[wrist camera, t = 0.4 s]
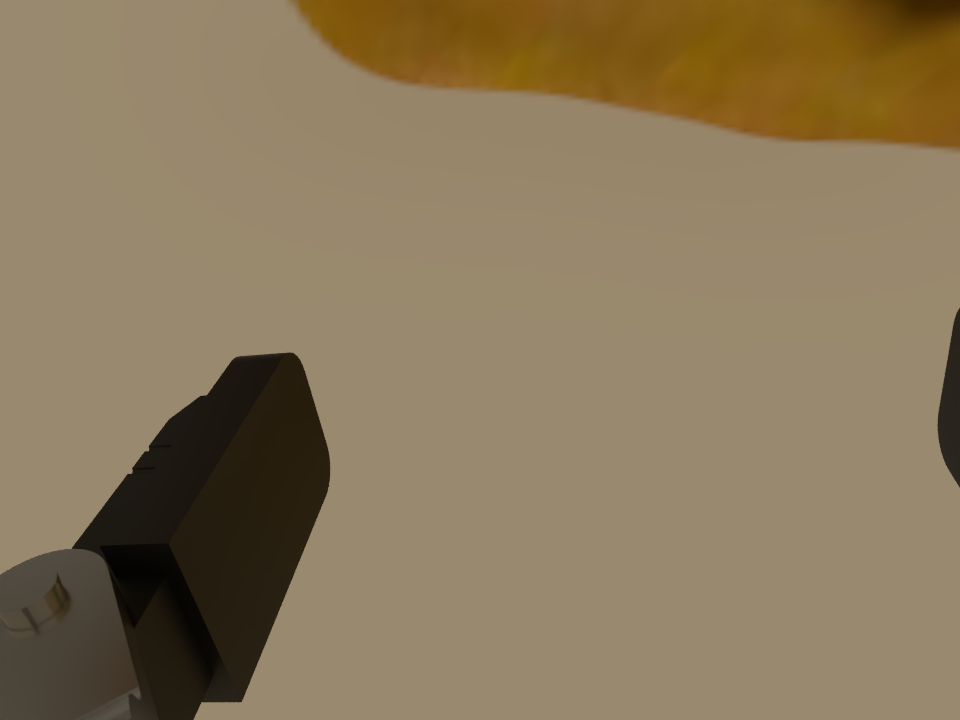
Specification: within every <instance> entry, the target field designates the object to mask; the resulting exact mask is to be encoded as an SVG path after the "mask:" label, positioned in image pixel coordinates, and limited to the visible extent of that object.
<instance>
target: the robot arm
mask: <svg viewBox="0 0 960 720" xmlns="http://www.w3.org/2000/svg"><path fill="white" fill-rule="evenodd" d="M938 437H939V443H940V448H941V452H942V455H943V458H944V461H945V463H946V465H947V467H948V469H949V471H950V472H951V474H952V476H953V477H954V479H955V481H956V482H957V484H958V485H959V487H960V308H959V310H958V312H957V314H956V317H955V321H954V325H953V331H952V336H951V342H950V349H949V355H948V360H947V366H946V372H945V378H944V384H943V389H942V395H941V401H940V407H939V413H938ZM132 469H133V473H132V474H127V476H126V477H125V479H124V480H123V481H122V482H121V484H120V485H119V486H118V488H117V489H116V490H115V492H114V493H113V494H112V496H111V497H110V498H109V500H108V501H107V502H106V504H105V505H104V506H103V508H102V509H101V510H100V512H99V513H98V514H97V516H96V517H95V518H94V519H93V521H92V522H91V523H90V525H89V526H88V527H87V529H86V530H85V531H84V533H83V534H82V536H81V537H80V538H79V539H78V541H77V542H76V543H75V545H74V546H73V547H72V549H65V550H58V551H53V552H50V553H46V554H42V555H39V556H37V557H34V558H31V559H29V560H27V561H24V562H22V563H20V564H18V565H16V566H14V567H12V568H11V569H9V570H7V571H6V572H4V573H2V574H1V575H0V720H193V719H194V717H195V715H196V713H197V711H198V709H199V706H200V704H201V702H242V700H243V698H244V695H245V693H246V690H247V688H248V685H249V683H250V680H251V678H252V675H253V673H254V670H255V668H256V666H257V663H258V661H259V658H260V656H261V653H262V651H263V649H264V646H265V644H266V641H267V639H268V636H269V634H270V631H271V629H272V626H273V624H274V622H275V619H276V617H277V614H278V612H279V610H280V607H281V605H282V602H283V599H284V597H285V594H286V592H287V590H288V588H289V585H290V583H291V580H292V578H293V575H294V573H295V570H296V568H297V565H298V563H299V561H300V558H301V556H302V553H303V551H304V548H305V546H306V543H307V541H308V539H309V536H310V534H311V531H312V528H313V526H314V524H315V521H316V519H317V517H318V514H319V512H320V509H321V507H322V504H323V502H324V499H325V497H326V494H327V491H328V487H329V481H330V458H329V452H328V447H327V444H326V440H325V437H324V433H323V430H322V427H321V423H320V420H319V417H318V414H317V410H316V407H315V403H314V400H313V397H312V394H311V390H310V387H309V384H308V380H307V377H306V374H305V371H304V368H303V365H302V363H301V361H300V359H299V358H298V357H297V356H296V355H295V354H294V353H277V354H264V355H251V356H240V357H236V358H234V359H233V360H232V361H231V362H230V364H229V365H228V367H227V368H226V370H225V371H224V372H223V374H222V375H221V376H220V378H219V379H218V381H217V382H216V384H215V385H214V386H213V388H212V389H211V390H210V392H209V393H208V395H206V396H200V397H198V398H197V399H196V400H194V401H193V402H192V403H191V404H189V405H188V406H186V407H185V408H184V409H182V410H181V411H180V412H179V413H177V414H176V415H175V416H173V417H172V418H170V419H169V420H168V422H167V423H166V424H165V425H164V427H163V428H162V430H161V431H160V432H159V434H158V435H157V436H156V437H155V439H154V440H153V441H152V443H151V444H150V445H149V451H146V452H144V453H143V455H142V456H141V457H140V459H139V460H138V461H137V463H136V464H135V465H134V467H133V468H132Z"/></svg>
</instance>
